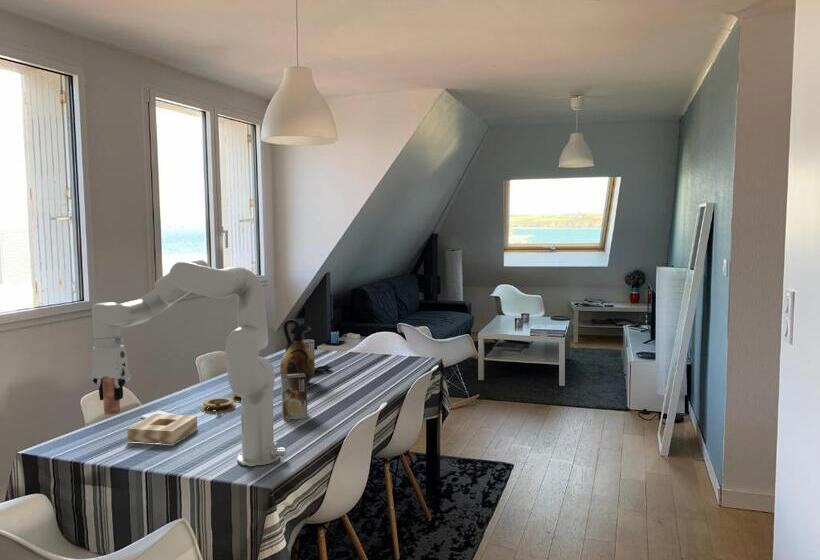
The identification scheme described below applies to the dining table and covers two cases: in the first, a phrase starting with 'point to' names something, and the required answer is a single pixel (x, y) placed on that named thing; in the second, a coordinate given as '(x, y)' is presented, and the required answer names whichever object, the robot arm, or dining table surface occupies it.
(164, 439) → the socket block
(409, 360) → the dining table surface
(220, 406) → the tableware set
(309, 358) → the ceramic jug
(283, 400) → the coffee box
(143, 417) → the external hard drive
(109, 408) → the peg
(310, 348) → the milk frother
